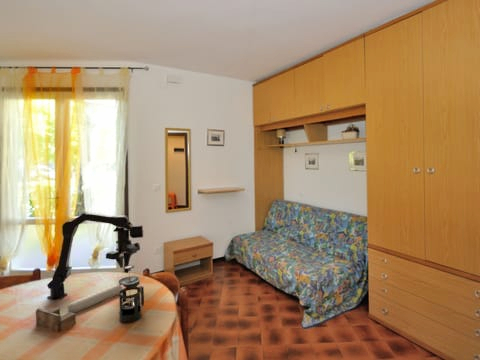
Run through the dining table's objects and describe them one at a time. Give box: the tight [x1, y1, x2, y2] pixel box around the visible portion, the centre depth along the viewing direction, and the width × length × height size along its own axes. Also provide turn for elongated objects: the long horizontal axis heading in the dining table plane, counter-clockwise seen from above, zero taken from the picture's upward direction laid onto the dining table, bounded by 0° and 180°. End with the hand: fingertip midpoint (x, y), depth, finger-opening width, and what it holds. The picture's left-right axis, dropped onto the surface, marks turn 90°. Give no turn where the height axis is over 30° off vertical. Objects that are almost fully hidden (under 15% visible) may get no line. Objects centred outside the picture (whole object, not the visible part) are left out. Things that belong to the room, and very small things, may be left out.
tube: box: [67, 283, 123, 314], centre depth 131 cm, size 5×5×25 cm
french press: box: [118, 264, 145, 325], centre depth 117 cm, size 12×9×23 cm
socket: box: [35, 307, 77, 333], centre depth 113 cm, size 14×8×7 cm, turn 67°
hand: (124, 266), depth 146 cm, fingers open, 3 cm apart
